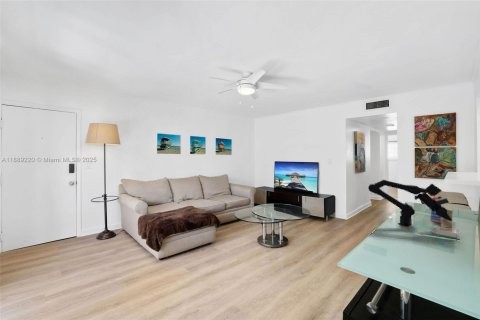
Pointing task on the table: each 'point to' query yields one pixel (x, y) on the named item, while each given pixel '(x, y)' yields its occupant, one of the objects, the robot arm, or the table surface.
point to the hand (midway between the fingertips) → (449, 219)
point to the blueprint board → (447, 232)
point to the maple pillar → (445, 222)
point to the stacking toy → (433, 215)
